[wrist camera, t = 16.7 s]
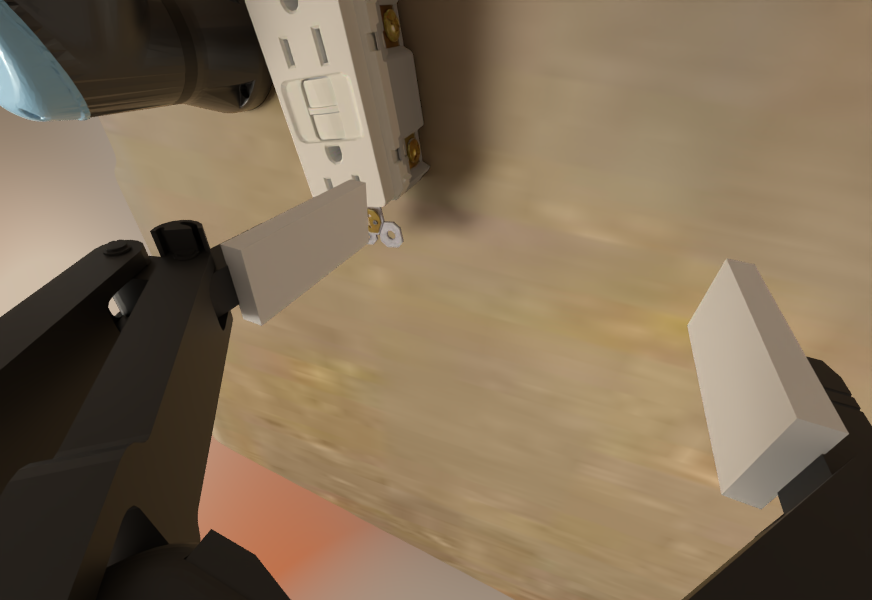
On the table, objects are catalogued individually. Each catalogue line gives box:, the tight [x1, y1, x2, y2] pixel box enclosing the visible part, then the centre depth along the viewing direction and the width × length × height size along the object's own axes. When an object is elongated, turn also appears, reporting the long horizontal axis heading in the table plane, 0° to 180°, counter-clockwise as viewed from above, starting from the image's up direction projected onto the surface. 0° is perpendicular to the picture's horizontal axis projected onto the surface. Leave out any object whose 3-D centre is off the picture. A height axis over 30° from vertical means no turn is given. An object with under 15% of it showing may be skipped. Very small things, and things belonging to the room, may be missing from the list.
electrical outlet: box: [245, 0, 430, 248], centre depth 37 cm, size 12×28×10 cm, turn 7°
